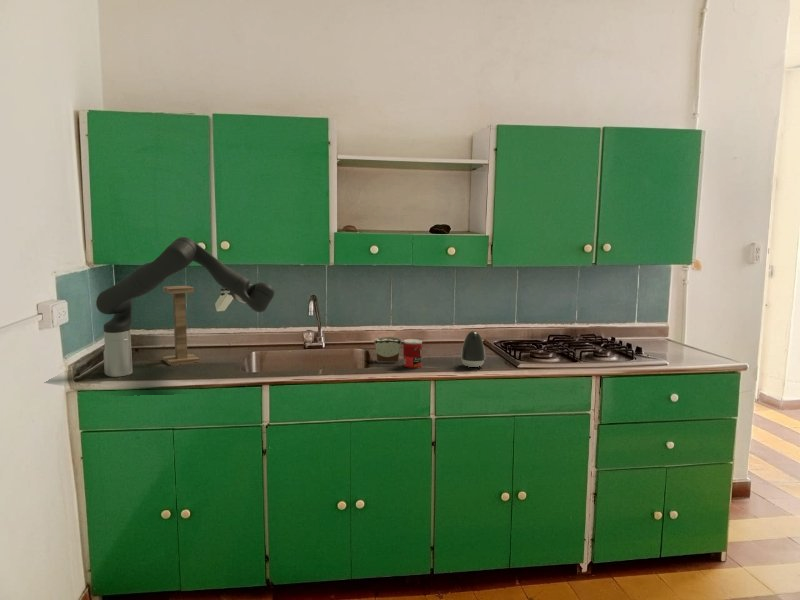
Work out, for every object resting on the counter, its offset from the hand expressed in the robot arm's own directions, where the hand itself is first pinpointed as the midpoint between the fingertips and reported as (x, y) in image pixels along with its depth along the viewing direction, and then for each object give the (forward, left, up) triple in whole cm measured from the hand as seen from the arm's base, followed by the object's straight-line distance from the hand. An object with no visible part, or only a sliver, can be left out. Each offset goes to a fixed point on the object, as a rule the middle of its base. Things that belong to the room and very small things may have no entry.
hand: (229, 288), depth 231 cm
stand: (-27, -1, -33) cm, 42 cm away
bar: (-2, +1, -5) cm, 6 cm away
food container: (+52, +40, -33) cm, 74 cm away
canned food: (+66, +35, -33) cm, 82 cm away
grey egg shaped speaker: (+89, +46, -33) cm, 106 cm away
